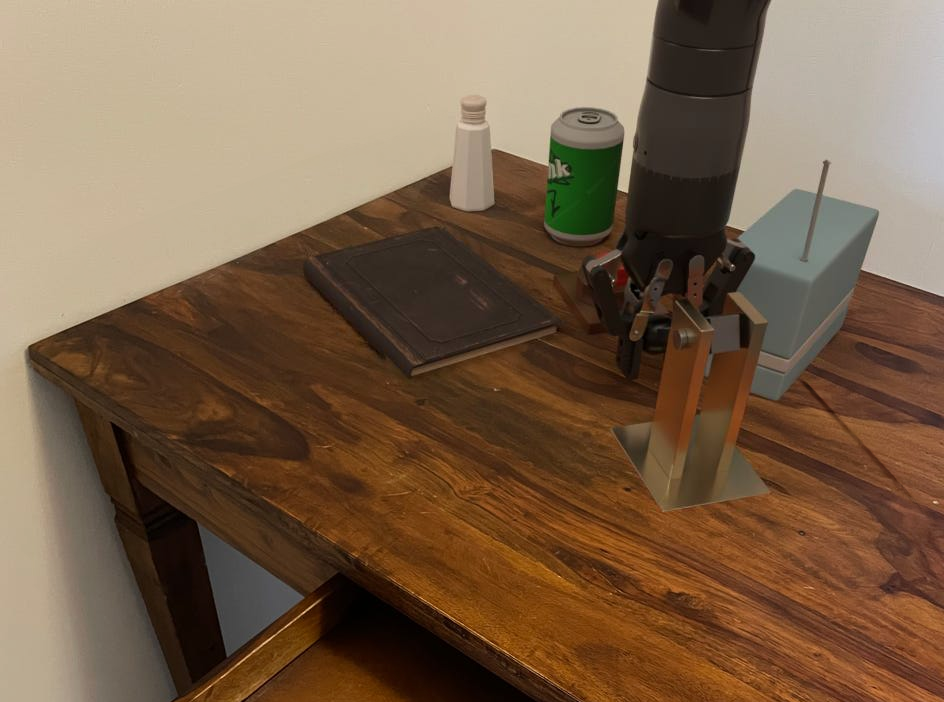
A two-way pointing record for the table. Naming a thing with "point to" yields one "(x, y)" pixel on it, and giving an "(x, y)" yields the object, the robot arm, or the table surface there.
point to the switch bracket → (706, 434)
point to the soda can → (583, 175)
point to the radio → (802, 279)
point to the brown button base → (588, 300)
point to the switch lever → (724, 325)
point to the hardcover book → (427, 299)
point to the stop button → (619, 273)
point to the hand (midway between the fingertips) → (650, 370)
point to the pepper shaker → (472, 158)
